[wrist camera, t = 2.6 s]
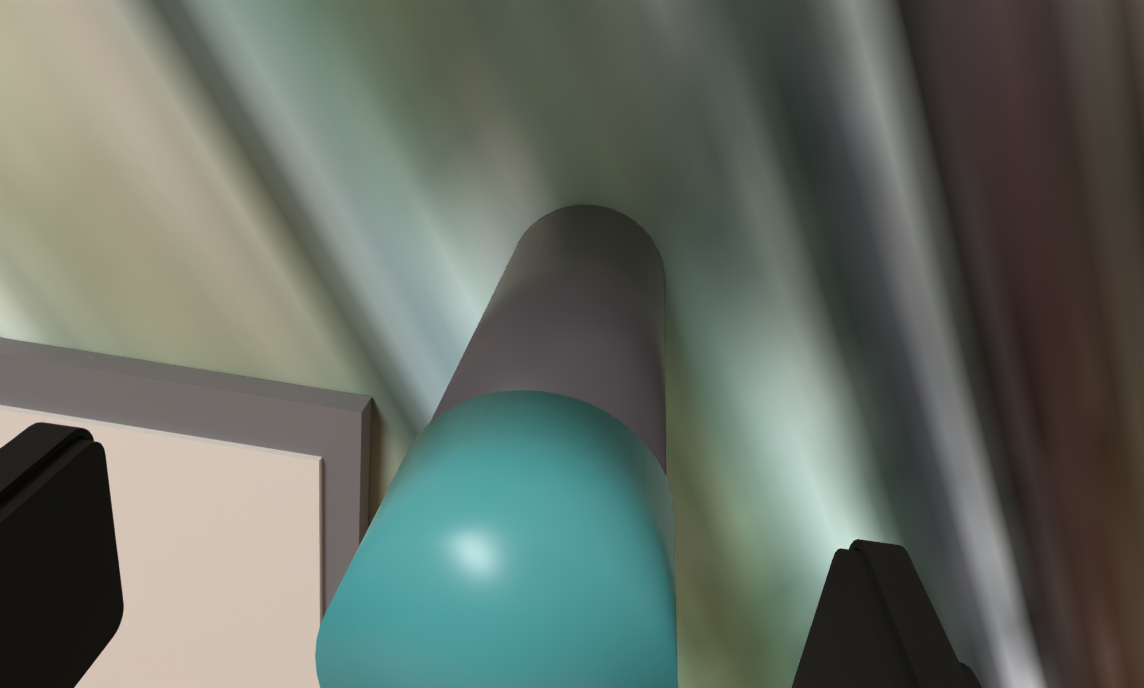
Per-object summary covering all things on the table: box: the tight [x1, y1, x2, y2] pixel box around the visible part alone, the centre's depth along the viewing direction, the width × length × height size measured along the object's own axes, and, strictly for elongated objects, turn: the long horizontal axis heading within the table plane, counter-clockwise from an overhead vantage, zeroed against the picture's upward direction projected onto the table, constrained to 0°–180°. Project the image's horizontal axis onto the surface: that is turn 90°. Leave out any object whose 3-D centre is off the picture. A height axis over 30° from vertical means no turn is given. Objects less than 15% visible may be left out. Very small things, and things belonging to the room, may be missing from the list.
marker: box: [315, 205, 678, 688], centre depth 14 cm, size 4×4×12 cm
